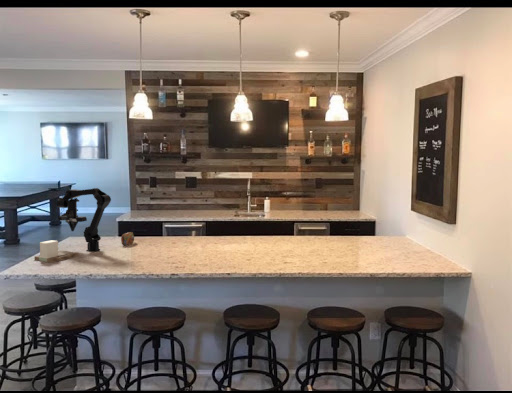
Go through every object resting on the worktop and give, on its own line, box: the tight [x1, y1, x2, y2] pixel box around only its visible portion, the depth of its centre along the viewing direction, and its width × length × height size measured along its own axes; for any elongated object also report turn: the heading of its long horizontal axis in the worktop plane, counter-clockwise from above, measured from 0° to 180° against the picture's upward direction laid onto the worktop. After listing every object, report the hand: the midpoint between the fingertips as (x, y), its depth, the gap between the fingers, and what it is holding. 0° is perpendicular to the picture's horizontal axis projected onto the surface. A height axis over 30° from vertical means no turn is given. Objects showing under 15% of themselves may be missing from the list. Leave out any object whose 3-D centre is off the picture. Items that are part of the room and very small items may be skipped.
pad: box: [38, 256, 56, 263], centre depth 263 cm, size 6×7×2 cm
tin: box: [120, 231, 135, 247], centre depth 311 cm, size 15×3×8 cm, turn 168°
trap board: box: [33, 250, 79, 263], centre depth 269 cm, size 20×15×2 cm
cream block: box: [39, 239, 59, 258], centre depth 263 cm, size 8×6×9 cm
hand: (72, 231), depth 293 cm, fingers closed
